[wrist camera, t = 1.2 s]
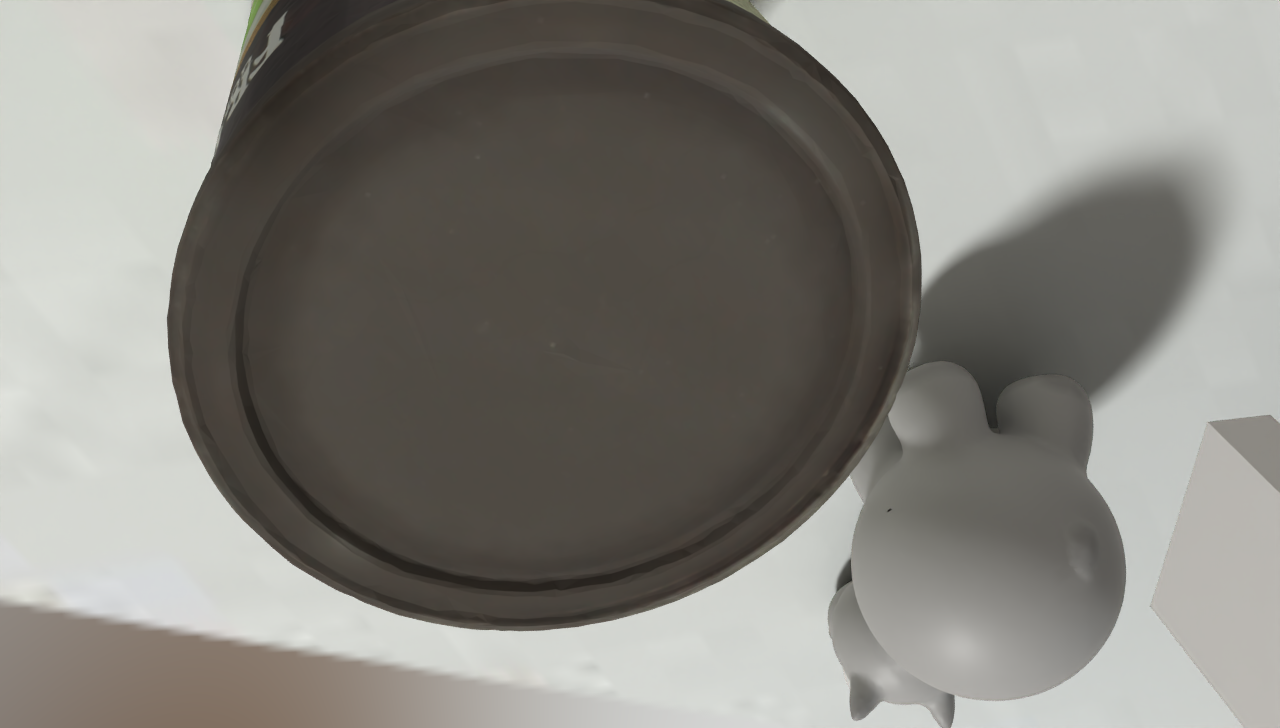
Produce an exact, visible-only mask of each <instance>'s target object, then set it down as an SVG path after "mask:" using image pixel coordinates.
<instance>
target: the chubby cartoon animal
mask: <svg viewBox="0 0 1280 728" xmlns="http://www.w3.org/2000/svg"><path fill="white" fill-rule="evenodd" d="M996 417H997V423H998V428H989V425H988V422H987V418H986V412H985V407H984V402H983V399H982V395H981V392H980V389H979V387H978V384H977V382H976V381H975V379H974V378H973V376H972V375H971V374H970V373H969V372H968V371H967V370H966V369H965V368H963V367H961V366H959V365H958V364H955V363H953V362H948V361H935V362H930V363H926V364H923V365H920V366H918V367H916V368H913V369H911V370H909V371H908V372H906V375H905V377H904V380H903V383H902V385H901V387H900V389H899V391H898V393H897V395H896V400H895V402H894V404H893V406H892V408H891V410H890V412H889V413H888V416H887V417H886V419H885V421H884V423H883V426H882V427H881V429H880V431H879V433H878V435H877V436H876V438H875V439H874V441H873V443H872V444H871V446H870V447H869V449H868V450H867V452H866V453H865V455H864V456H863V458H862V459H861V461H860V462H859V464H858V465H857V466H856V467H855V469H854V470H853V471H852V472H851V474H850V476H851V479H852V482H853V484H854V486H855V488H856V490H857V492H858V494H859V495H860V497H861V499H862V500H863V502H864V506H863V508H862V510H861V512H860V515H859V518H858V521H857V524H856V527H855V531H854V536H853V541H852V549H851V572H852V581H851V582H849V583H847V584H845V585H844V586H843V587H842V588H840V589H839V590H838V591H837V592H836V594H835V595H834V597H833V599H832V601H831V603H830V605H829V609H828V625H829V635H830V637H831V639H832V642H833V647H834V650H835V653H836V656H837V658H838V660H839V662H840V664H841V665H842V667H843V672H844V676H845V680H846V682H847V685H848V687H849V689H850V711H851V716H852V719H853V720H855V721H857V720H861V719H863V718H865V717H866V716H867V715H868V714H869V713H870V712H871V711H872V710H873V709H874V708H875V707H876V706H877V705H878V704H879V703H880V702H882V701H885V702H888V703H892V704H900V705H910V704H919V705H923V706H925V707H926V708H927V709H928V710H929V711H930V712H931V714H932V715H933V717H934V719H935V720H936V721H937V723H938V724H939V725H940V726H941V727H942V728H951V725H952V723H953V718H954V710H955V699H954V695H956V696H960V697H964V698H969V699H975V700H984V701H1005V700H1014V699H1020V698H1025V697H1029V696H1033V695H1036V694H1039V693H1042V692H1045V691H1047V690H1049V689H1051V688H1054V687H1056V686H1058V685H1060V684H1062V683H1063V682H1065V681H1066V680H1068V679H1070V678H1071V677H1073V676H1074V675H1075V674H1077V673H1078V672H1079V671H1080V670H1081V669H1083V668H1084V667H1085V666H1086V665H1087V664H1088V663H1089V662H1090V661H1091V660H1092V659H1093V658H1094V657H1095V655H1096V654H1097V653H1098V652H1099V651H1100V649H1101V648H1102V647H1103V645H1104V644H1105V642H1106V641H1107V639H1108V637H1109V636H1110V634H1111V632H1112V630H1113V628H1114V626H1115V624H1116V621H1117V619H1118V616H1119V613H1120V610H1121V607H1122V603H1123V598H1124V592H1125V583H1126V564H1125V554H1124V548H1123V543H1122V539H1121V535H1120V532H1119V529H1118V526H1117V524H1116V521H1115V519H1114V517H1113V515H1112V513H1111V511H1110V509H1109V507H1108V505H1107V504H1106V502H1105V500H1104V499H1103V497H1102V496H1101V494H1100V493H1099V492H1098V490H1097V489H1096V488H1095V487H1094V485H1093V484H1092V483H1091V482H1090V481H1089V479H1088V478H1087V473H1086V470H1087V464H1088V459H1089V456H1090V452H1091V446H1092V440H1093V415H1092V409H1091V404H1090V401H1089V398H1088V396H1087V394H1086V392H1085V390H1084V389H1083V388H1082V386H1081V385H1080V384H1079V383H1078V382H1077V381H1075V380H1074V379H1072V378H1070V377H1067V376H1063V375H1057V374H1046V375H1036V376H1031V377H1027V378H1023V379H1020V380H1017V381H1015V382H1013V383H1011V384H1009V385H1008V386H1007V387H1005V388H1004V390H1003V391H1002V392H1001V394H1000V396H999V398H998V401H997V407H996Z"/></svg>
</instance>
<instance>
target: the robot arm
mask: <svg viewBox="0 0 1280 728" xmlns="http://www.w3.org/2000/svg"><path fill="white" fill-rule="evenodd" d="M1150 607H1151V608H1152V609H1153V611H1154V612H1155V613H1156V615H1157V616H1158V617H1159V619H1160V620H1161V621H1162V622H1163V624H1164V625H1165V626H1166V628H1167V629H1168V630H1169V631H1170V633H1171V634H1172V635H1173V637H1174V638H1175V639H1176V641H1177V642H1178V643H1179V644H1180V646H1181V647H1182V648H1183V650H1184V651H1185V652H1186V653H1187V655H1188V656H1189V657H1190V659H1191V660H1192V661H1193V662H1194V664H1195V665H1196V666H1197V668H1198V669H1199V670H1200V672H1201V673H1202V674H1203V675H1204V677H1205V678H1206V679H1207V681H1208V682H1209V683H1210V684H1211V686H1212V687H1213V688H1214V690H1215V691H1216V692H1217V694H1218V695H1219V696H1220V697H1221V699H1222V700H1223V701H1224V703H1225V704H1226V705H1227V706H1228V708H1229V709H1230V710H1231V712H1232V713H1233V714H1234V716H1235V717H1236V718H1237V719H1238V721H1239V722H1240V723H1241V725H1242V726H1243V727H1244V728H1280V423H1278V422H1277V421H1276V420H1275V419H1274V418H1273V417H1272V416H1271V415H1264V416H1256V417H1247V418H1238V419H1230V420H1221V421H1212V422H1208V423H1207V426H1206V429H1205V432H1204V435H1203V439H1202V442H1201V445H1200V448H1199V451H1198V455H1197V458H1196V461H1195V464H1194V467H1193V471H1192V474H1191V477H1190V480H1189V483H1188V487H1187V490H1186V493H1185V496H1184V499H1183V503H1182V506H1181V509H1180V512H1179V515H1178V519H1177V522H1176V525H1175V528H1174V531H1173V535H1172V538H1171V541H1170V544H1169V547H1168V551H1167V554H1166V557H1165V560H1164V563H1163V567H1162V570H1161V573H1160V576H1159V579H1158V583H1157V586H1156V589H1155V592H1154V595H1153V599H1152V602H1151V605H1150Z"/></svg>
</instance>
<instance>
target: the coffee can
mask: <svg viewBox="0 0 1280 728" xmlns="http://www.w3.org/2000/svg"><path fill="white" fill-rule="evenodd" d="M921 276H922V269H921V252H920V244H919V236H918V230H917V226H916V221H915V216H914V212H913V207H912V204H911V201H910V198H909V194H908V191H907V188H906V185H905V182H904V179H903V177H902V175H901V173H900V171H899V169H898V166H897V164H896V162H895V160H894V158H893V156H892V154H891V151H890V149H889V147H888V145H887V144H886V142H885V140H884V139H883V137H882V135H881V134H880V132H879V131H878V129H877V127H876V126H875V124H874V123H873V122H872V120H871V119H870V118H869V116H868V115H867V113H866V112H865V111H864V109H863V108H862V107H861V105H860V104H859V103H858V101H857V100H856V99H855V97H854V96H853V95H852V94H851V93H850V92H849V91H848V90H847V89H846V88H845V87H844V86H843V85H842V84H841V83H840V81H839V80H838V79H837V78H836V77H835V76H834V75H833V74H831V73H830V72H829V71H828V70H827V69H826V68H825V67H824V66H823V65H821V64H820V63H819V62H818V61H817V60H816V59H815V58H814V57H812V56H811V55H810V54H809V53H808V52H807V51H805V50H804V49H803V48H802V47H801V46H800V45H798V44H797V43H796V42H794V41H793V40H791V39H790V38H788V37H787V36H786V35H784V34H783V33H781V32H780V31H778V30H777V29H776V28H774V27H772V26H771V25H770V24H769V23H768V22H767V20H766V19H765V18H764V17H763V16H762V15H761V14H760V13H759V11H758V10H757V9H756V8H755V7H754V6H753V5H752V4H751V3H750V2H749V1H748V0H252V7H251V13H250V17H249V21H248V26H247V30H246V34H245V38H244V41H243V45H242V48H241V53H240V58H239V61H238V65H237V69H236V73H235V77H234V81H233V85H232V88H231V91H230V95H229V99H228V103H227V106H226V110H225V114H224V117H223V121H222V125H221V128H220V131H219V135H218V139H217V144H216V148H215V153H214V157H213V160H212V162H211V168H210V170H209V171H208V173H207V175H206V177H205V179H204V181H203V183H202V185H201V187H200V190H199V192H198V194H197V196H196V198H195V201H194V203H193V205H192V208H191V210H190V213H189V216H188V219H187V222H186V225H185V228H184V231H183V234H182V237H181V240H180V242H179V245H178V249H177V254H176V258H175V263H174V268H173V273H172V280H171V289H170V301H169V309H168V315H167V327H168V349H169V357H170V365H171V374H172V382H173V386H174V389H175V393H176V396H177V400H178V404H179V408H180V413H181V417H182V421H183V424H184V426H185V428H186V431H187V433H188V435H189V437H190V440H191V442H192V444H193V446H194V449H195V451H196V452H197V454H198V456H199V458H200V460H201V461H202V463H203V465H204V467H205V469H206V471H207V472H208V474H209V476H210V477H211V479H212V480H213V482H214V484H215V485H216V487H217V488H218V490H219V491H220V492H221V494H222V495H223V496H224V498H225V499H226V500H227V502H228V503H229V504H230V506H231V507H232V508H233V509H234V511H235V512H236V513H237V514H238V515H239V516H240V517H241V518H242V520H243V521H244V522H246V523H247V524H248V525H249V526H250V527H251V528H252V529H253V530H254V531H255V532H256V533H257V534H258V535H260V536H261V537H262V538H263V539H264V540H265V541H266V542H267V543H268V544H269V545H270V546H271V547H272V548H273V549H275V550H276V551H277V552H278V553H280V554H281V555H282V556H283V557H284V558H285V559H287V560H288V561H289V562H290V563H291V564H293V565H294V566H296V567H298V568H299V569H301V570H303V571H304V572H306V573H308V574H309V575H311V576H313V577H314V578H316V579H318V580H319V581H321V582H323V583H325V584H327V585H328V586H330V587H332V588H334V589H336V590H338V591H340V592H342V593H345V594H347V595H350V596H353V597H355V598H356V599H358V600H360V601H362V602H364V603H367V604H370V605H372V606H375V607H378V608H381V609H383V610H386V611H389V612H392V613H395V614H397V615H401V616H405V617H409V618H413V619H417V620H421V621H426V622H430V623H436V624H441V625H447V626H454V627H460V628H467V629H477V630H499V631H509V630H511V631H539V630H550V629H560V628H571V627H579V626H584V625H589V624H595V623H601V622H606V621H612V620H616V619H619V618H623V617H627V616H631V615H634V614H638V613H641V612H645V611H648V610H652V609H654V608H657V607H660V606H663V605H666V604H669V603H672V602H675V601H677V600H680V599H682V598H684V597H687V596H689V595H691V594H693V593H696V592H698V591H700V590H702V589H704V588H706V587H708V586H710V585H713V584H715V583H717V582H719V581H721V580H723V579H725V578H727V577H728V576H730V575H732V574H734V573H735V572H737V571H738V570H740V569H741V568H743V567H745V566H746V565H748V564H749V563H751V562H753V561H754V560H756V559H758V558H759V557H761V556H762V555H763V554H765V553H766V552H768V551H769V550H771V549H772V548H773V547H775V546H776V545H778V544H779V543H781V542H782V541H784V540H785V539H786V538H787V537H788V536H789V535H791V534H792V533H793V532H794V531H795V530H796V529H798V528H799V527H800V526H801V525H802V524H803V523H804V522H806V521H807V520H808V519H809V518H810V517H811V516H812V515H813V514H814V513H815V512H816V511H817V510H818V509H819V508H820V507H821V506H822V505H823V504H824V503H825V502H826V501H827V500H828V499H829V498H830V497H831V496H832V495H833V494H834V492H835V491H836V490H837V489H838V488H839V487H840V485H841V484H842V483H843V482H844V481H845V480H846V478H847V477H848V476H849V475H850V474H851V472H852V471H853V470H854V469H855V467H856V466H857V465H858V464H859V462H860V461H861V459H862V458H863V456H864V455H865V453H866V452H867V450H868V449H869V447H870V446H871V444H872V443H873V441H874V439H875V438H876V436H877V435H878V433H879V431H880V429H881V427H882V426H883V423H884V421H885V419H886V417H887V415H888V413H889V412H890V410H891V408H892V406H893V404H894V402H895V400H896V395H897V393H898V391H899V389H900V387H901V385H902V383H903V380H904V377H905V375H906V372H907V369H908V365H909V362H910V358H911V355H912V352H913V349H914V346H915V341H916V336H917V330H918V322H919V315H920V308H921Z"/></svg>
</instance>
